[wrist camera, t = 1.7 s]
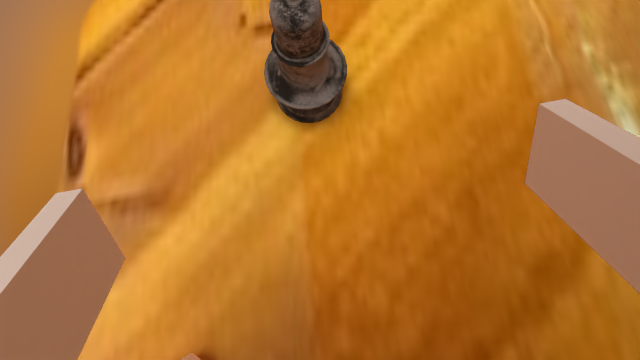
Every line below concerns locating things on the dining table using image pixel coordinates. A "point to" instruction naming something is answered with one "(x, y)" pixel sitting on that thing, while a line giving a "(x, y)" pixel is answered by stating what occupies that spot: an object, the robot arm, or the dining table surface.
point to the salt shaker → (303, 61)
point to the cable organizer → (191, 357)
